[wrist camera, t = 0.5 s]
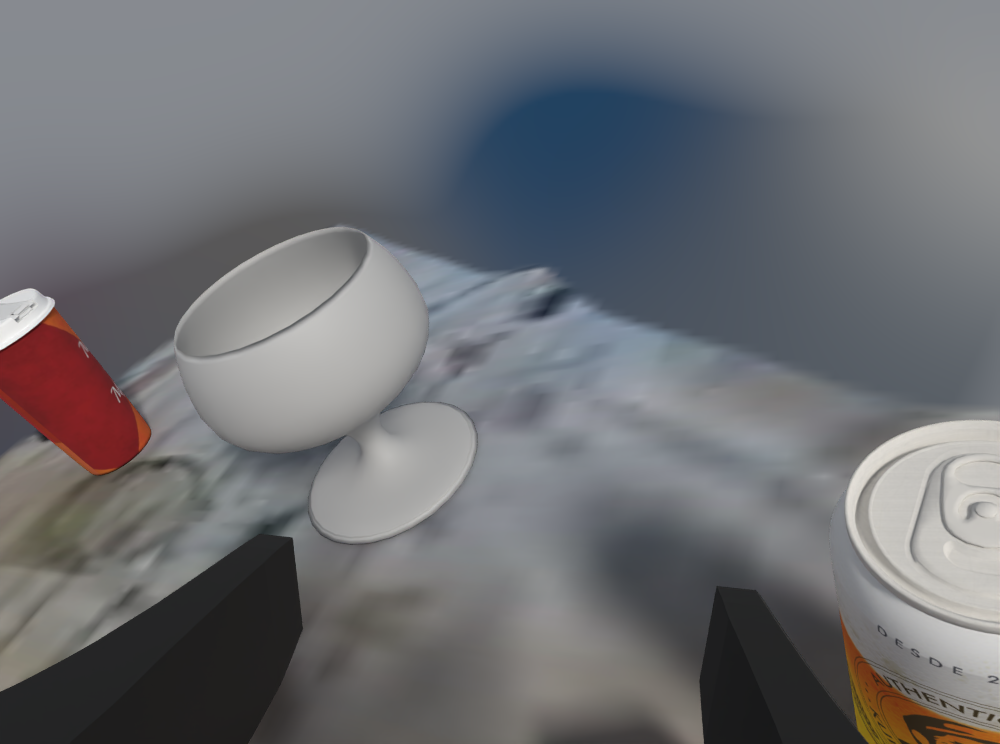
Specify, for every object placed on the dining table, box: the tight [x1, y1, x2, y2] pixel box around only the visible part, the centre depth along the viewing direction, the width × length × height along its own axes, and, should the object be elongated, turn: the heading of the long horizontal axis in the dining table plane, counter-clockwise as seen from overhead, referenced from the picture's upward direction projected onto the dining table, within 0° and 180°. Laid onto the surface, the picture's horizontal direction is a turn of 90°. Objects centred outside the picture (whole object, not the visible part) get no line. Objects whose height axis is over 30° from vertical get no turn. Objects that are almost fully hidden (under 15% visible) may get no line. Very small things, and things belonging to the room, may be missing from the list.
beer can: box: [829, 420, 1000, 744], centre depth 19 cm, size 6×6×15 cm
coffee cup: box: [0, 289, 151, 475], centre depth 59 cm, size 8×8×15 cm
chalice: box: [174, 227, 478, 544], centre depth 43 cm, size 14×14×15 cm
